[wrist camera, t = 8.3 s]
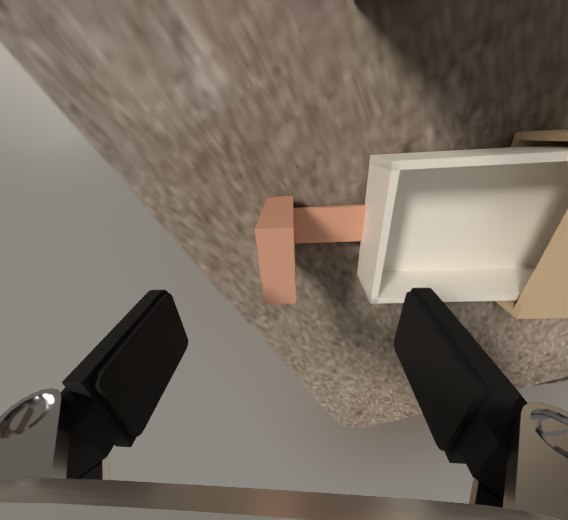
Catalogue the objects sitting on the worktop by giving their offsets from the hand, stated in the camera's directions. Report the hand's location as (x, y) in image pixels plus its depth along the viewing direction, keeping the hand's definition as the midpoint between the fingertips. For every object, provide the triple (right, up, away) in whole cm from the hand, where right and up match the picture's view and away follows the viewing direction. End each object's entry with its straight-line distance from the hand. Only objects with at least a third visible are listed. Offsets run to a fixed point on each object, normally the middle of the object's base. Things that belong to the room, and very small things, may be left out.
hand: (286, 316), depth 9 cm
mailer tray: (+12, +6, +9) cm, 16 cm away
